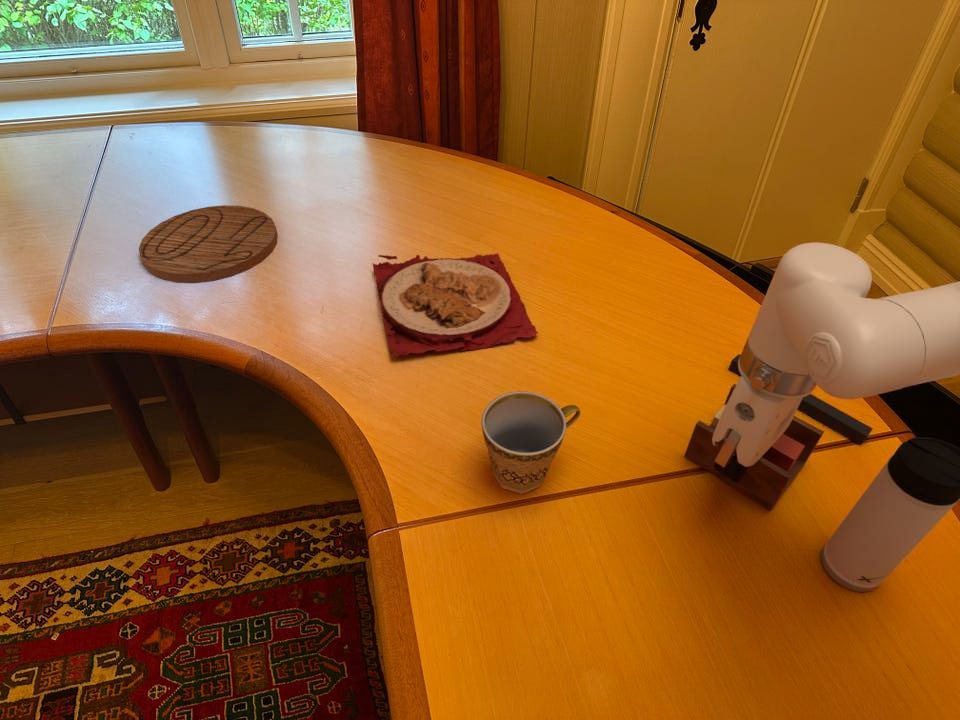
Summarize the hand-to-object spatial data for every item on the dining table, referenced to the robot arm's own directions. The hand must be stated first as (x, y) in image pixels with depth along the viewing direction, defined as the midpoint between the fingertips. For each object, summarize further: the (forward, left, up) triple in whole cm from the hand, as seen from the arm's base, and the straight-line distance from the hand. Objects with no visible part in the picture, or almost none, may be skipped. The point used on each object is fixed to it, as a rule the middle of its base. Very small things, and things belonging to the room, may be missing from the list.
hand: (728, 471), depth 73 cm
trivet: (+97, +23, -4) cm, 100 cm away
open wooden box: (+1, -7, -4) cm, 8 cm away
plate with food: (+52, 0, -4) cm, 53 cm away
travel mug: (-16, -2, -4) cm, 16 cm away
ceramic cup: (+18, +15, -5) cm, 24 cm away
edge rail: (+1, -22, -4) cm, 22 cm away
